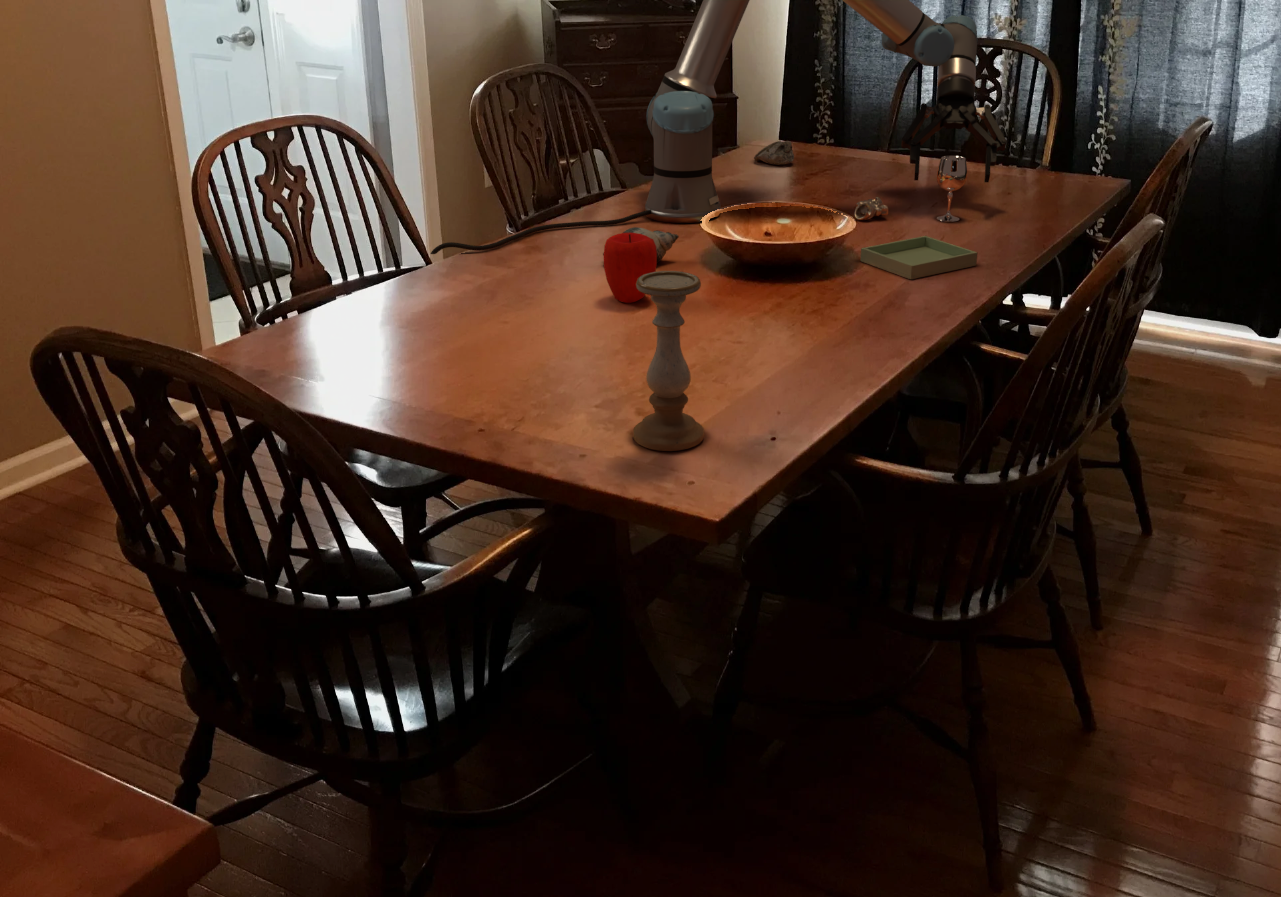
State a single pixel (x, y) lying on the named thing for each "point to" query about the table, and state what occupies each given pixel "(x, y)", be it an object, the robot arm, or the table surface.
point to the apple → (628, 264)
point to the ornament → (870, 209)
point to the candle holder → (668, 366)
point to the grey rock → (776, 153)
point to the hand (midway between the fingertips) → (951, 177)
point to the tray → (918, 257)
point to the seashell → (656, 239)
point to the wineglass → (951, 179)
